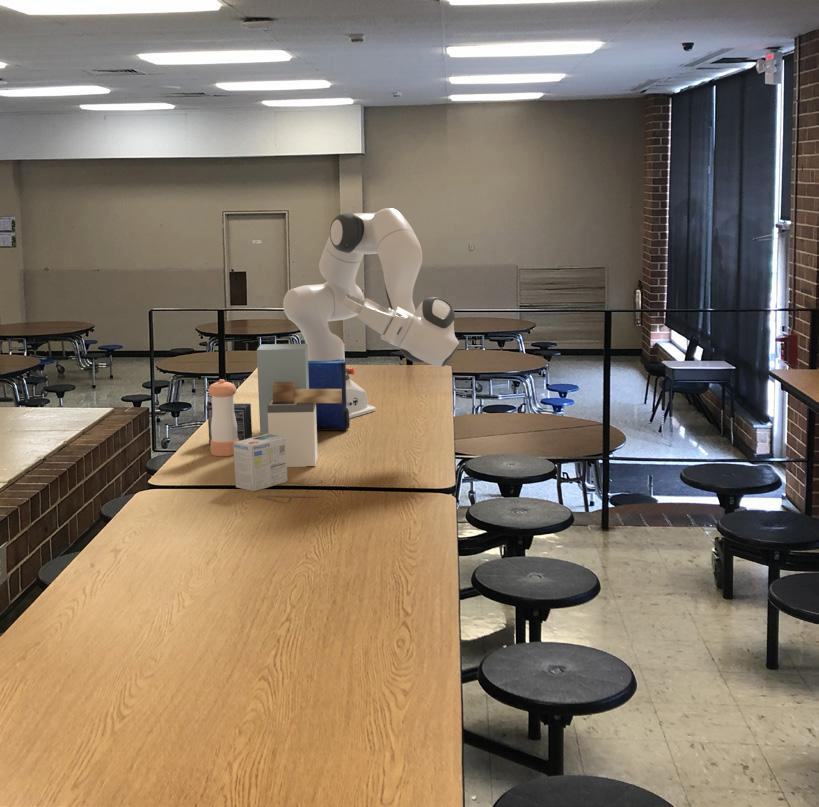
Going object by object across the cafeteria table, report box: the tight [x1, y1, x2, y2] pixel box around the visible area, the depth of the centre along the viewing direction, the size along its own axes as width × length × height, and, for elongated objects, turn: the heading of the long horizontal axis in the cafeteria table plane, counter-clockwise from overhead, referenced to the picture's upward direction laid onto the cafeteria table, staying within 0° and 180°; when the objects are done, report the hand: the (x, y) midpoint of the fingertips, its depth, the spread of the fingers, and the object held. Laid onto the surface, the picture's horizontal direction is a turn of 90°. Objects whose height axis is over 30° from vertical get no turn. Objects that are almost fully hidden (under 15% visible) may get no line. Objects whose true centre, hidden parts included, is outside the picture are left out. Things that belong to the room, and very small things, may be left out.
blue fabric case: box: [308, 359, 351, 431], centre depth 310 cm, size 14×5×20 cm, turn 84°
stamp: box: [273, 382, 342, 404], centre depth 272 cm, size 16×5×4 cm, turn 91°
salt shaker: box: [207, 378, 239, 457], centre depth 285 cm, size 7×7×19 cm
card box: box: [267, 399, 319, 468], centre depth 274 cm, size 11×10×15 cm
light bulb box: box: [233, 434, 288, 492], centre depth 254 cm, size 11×7×11 cm, turn 141°
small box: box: [207, 403, 253, 447], centre depth 297 cm, size 11×6×10 cm, turn 84°
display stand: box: [256, 343, 309, 436], centre depth 286 cm, size 13×11×27 cm
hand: (344, 298), depth 268 cm, fingers open, 8 cm apart
